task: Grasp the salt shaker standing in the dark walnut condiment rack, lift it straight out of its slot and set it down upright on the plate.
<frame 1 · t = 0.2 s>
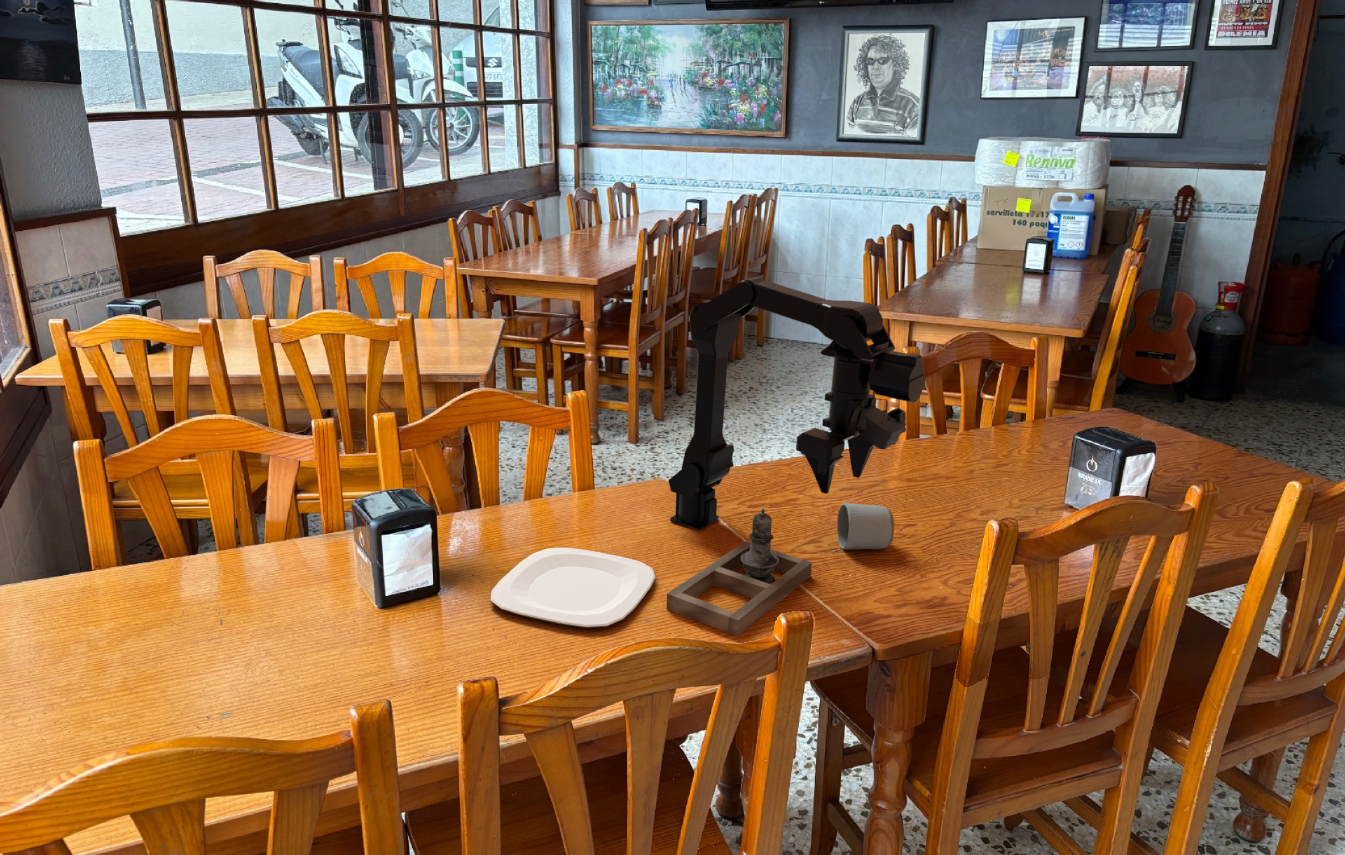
hand: (840, 484, 142), 14 cm above the table, tool pointing down, fingers open, 9 cm apart
condiment rack: (741, 592, 138), on the table
plate: (575, 593, 138), on the table
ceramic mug: (859, 544, 156), on the table
salt shaker: (758, 580, 142), resting in condiment rack
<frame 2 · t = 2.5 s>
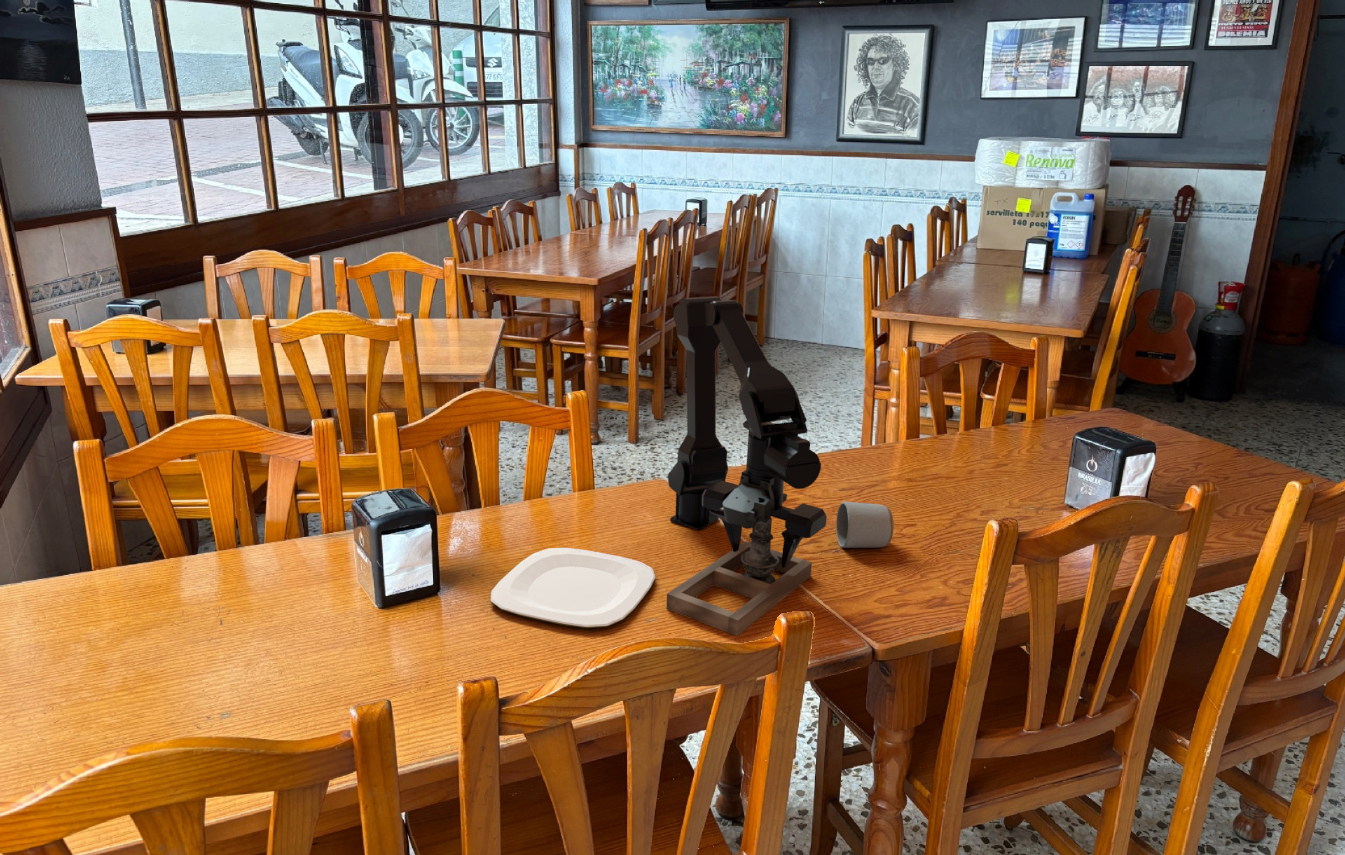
hand: (759, 558, 141), 4 cm above the table, tool pointing down, fingers closed on salt shaker, 8 cm apart
salt shaker: (758, 580, 142), resting in condiment rack, touching gripper
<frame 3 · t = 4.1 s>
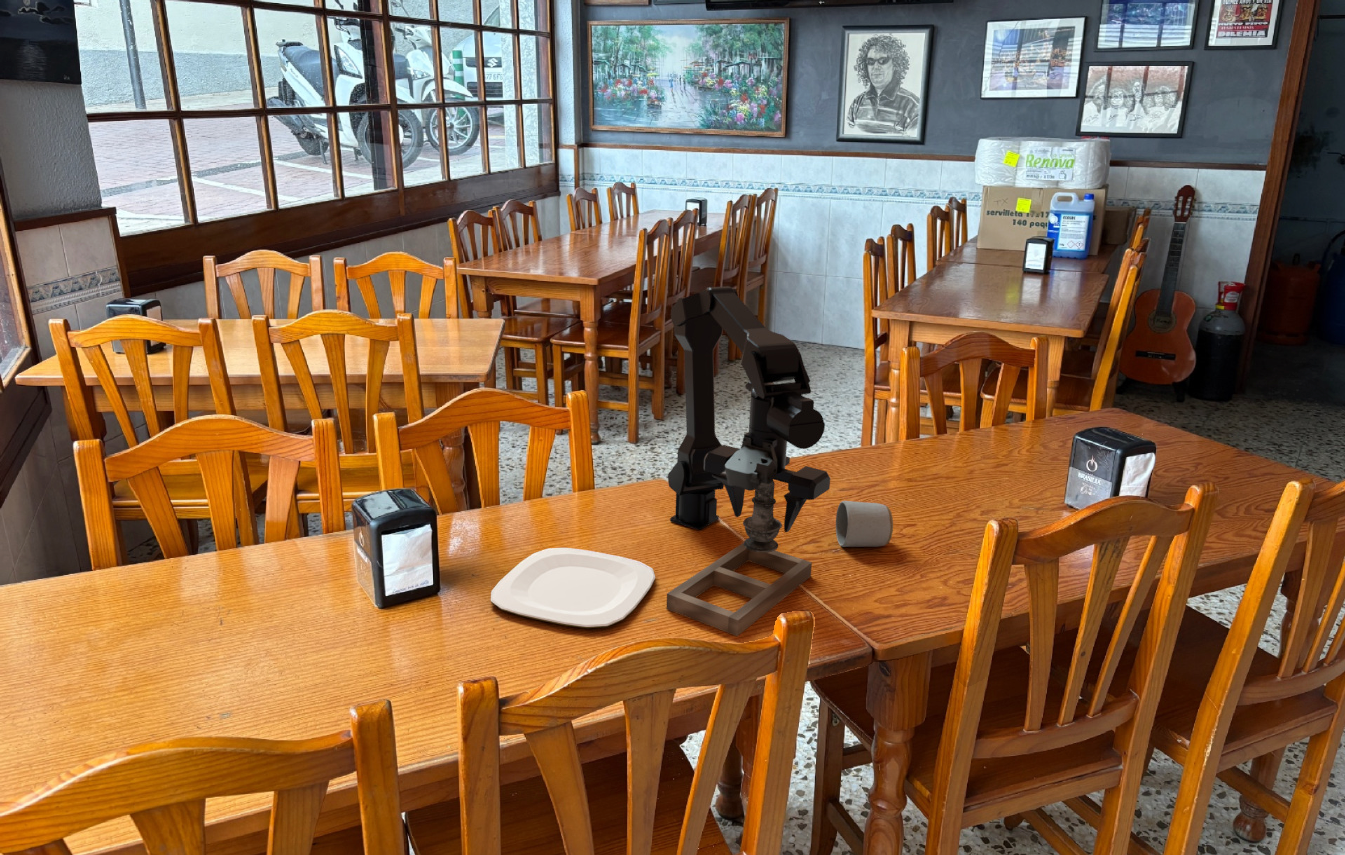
hand: (762, 523, 139), 9 cm above the table, tool pointing down, fingers closed on salt shaker, 8 cm apart
salt shaker: (760, 546, 140), point 6 cm above the table, touching gripper
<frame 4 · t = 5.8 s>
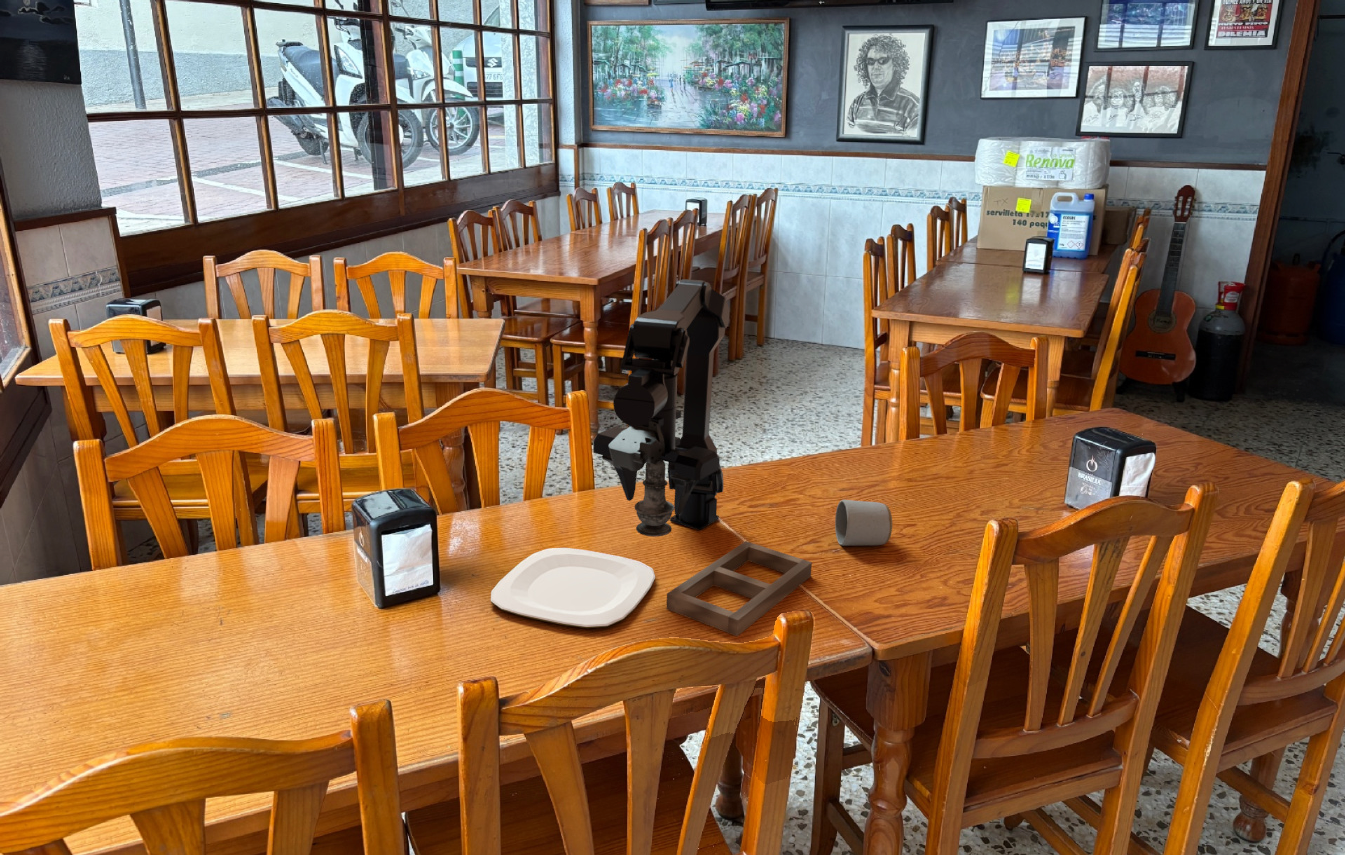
hand: (653, 506, 135), 13 cm above the table, tool pointing down, fingers closed on salt shaker, 8 cm apart
salt shaker: (653, 530, 136), point 9 cm above the table, touching gripper
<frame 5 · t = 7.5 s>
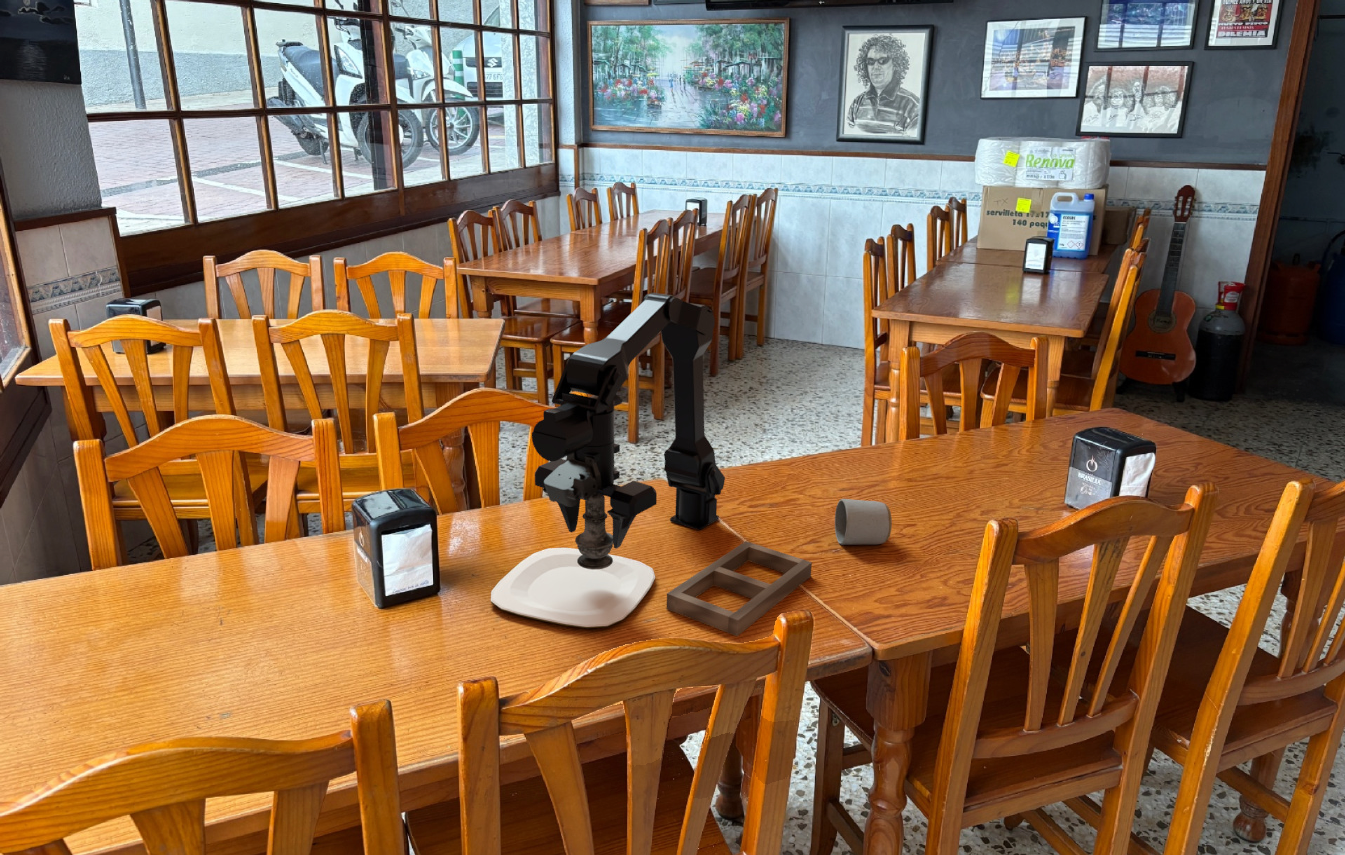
hand: (594, 539, 135), 8 cm above the table, tool pointing down, fingers closed on salt shaker, 8 cm apart
salt shaker: (595, 562, 137), point 4 cm above the table, touching gripper
when the fingers open (6 cm above the table, at t = 9.0 s): salt shaker drops 2 cm, point 1 cm above the table.
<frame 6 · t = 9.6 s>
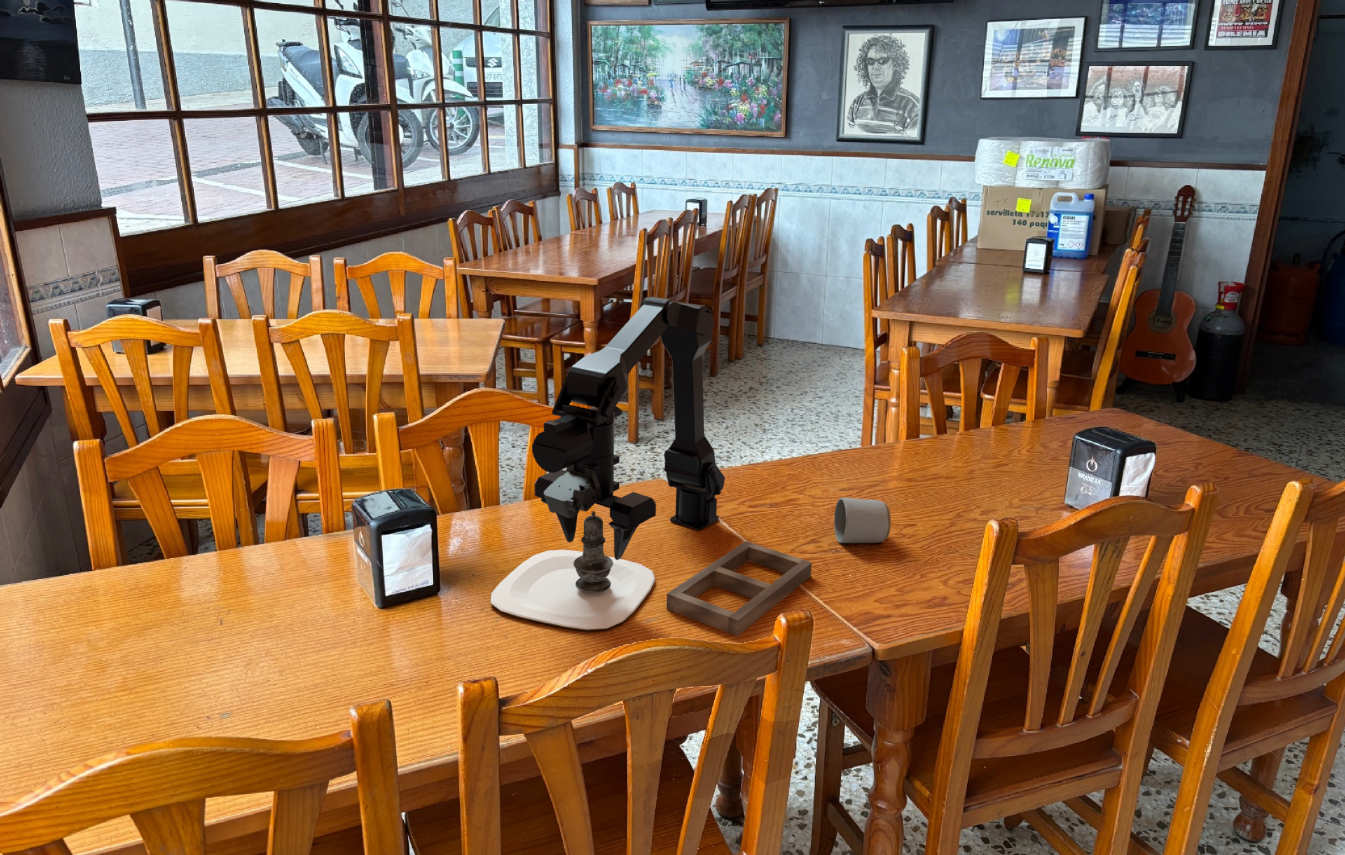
hand: (593, 550, 136), 6 cm above the table, tool pointing down, fingers open, 9 cm apart
salt shaker: (593, 585, 138), point 1 cm above the table
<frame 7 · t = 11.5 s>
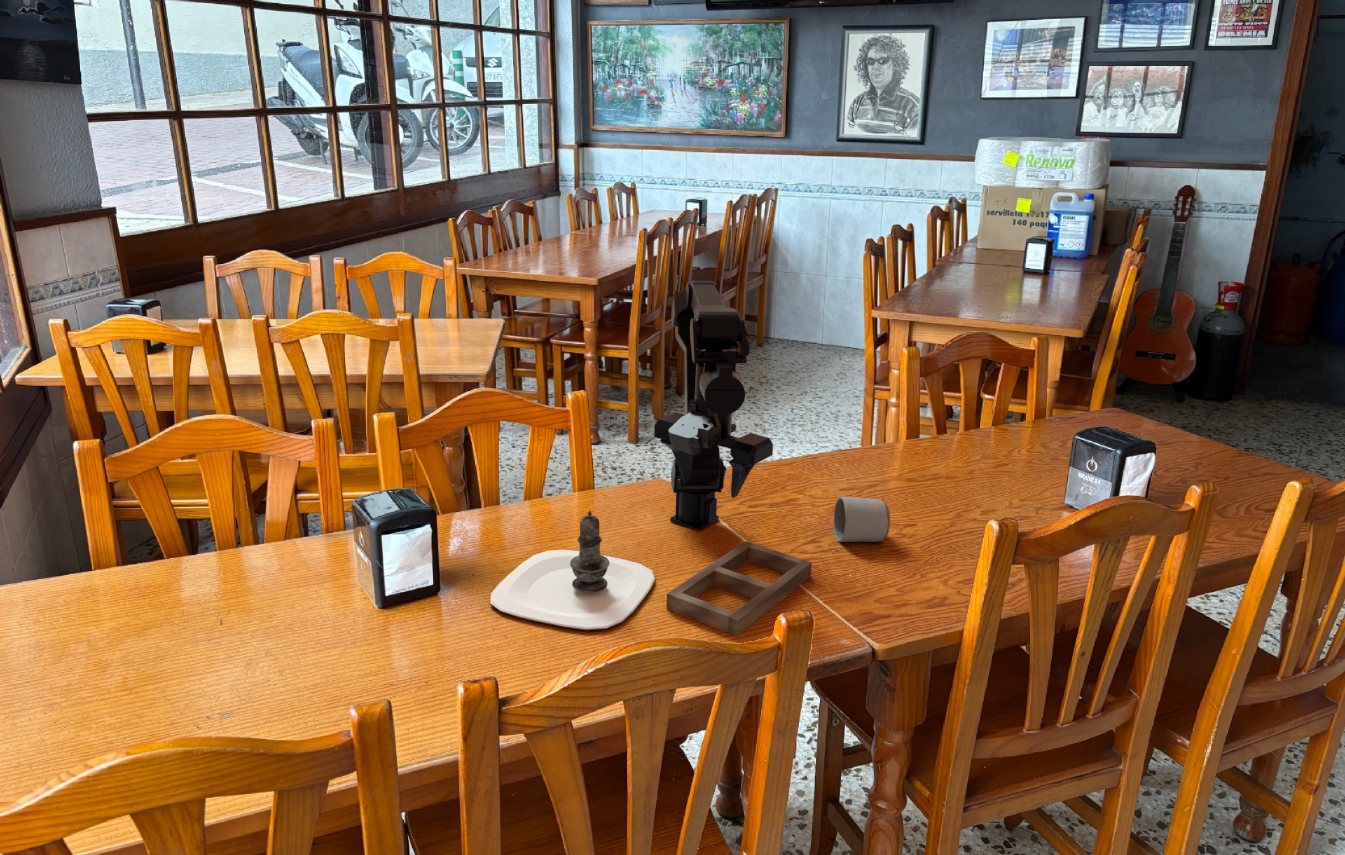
hand: (709, 489, 143), 13 cm above the table, tool pointing down, fingers open, 9 cm apart
plate: (574, 596, 138), on the table, touching salt shaker
salt shaker: (589, 585, 138), point 1 cm above the table, touching plate
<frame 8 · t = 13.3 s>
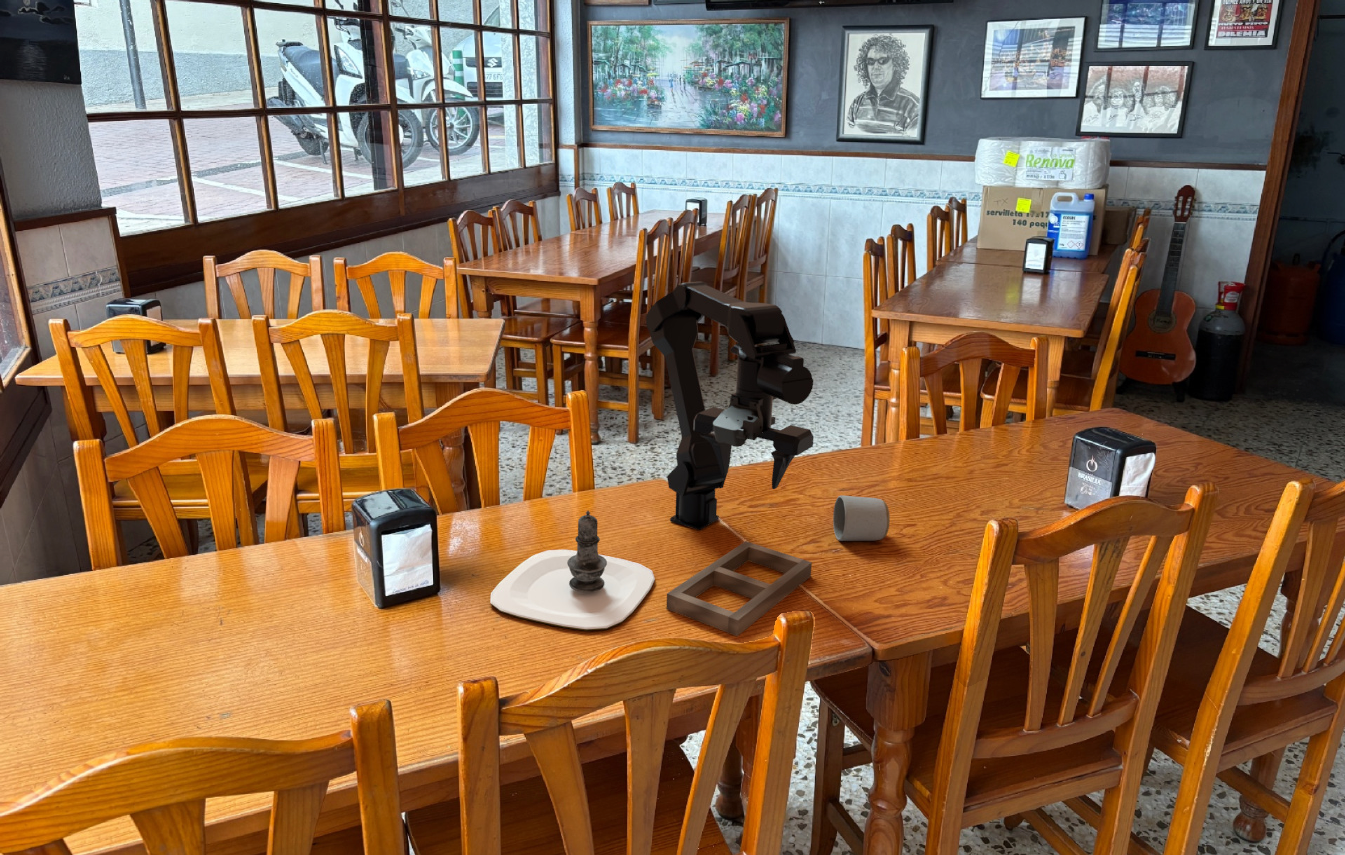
hand: (749, 481, 146), 13 cm above the table, tool pointing down, fingers open, 9 cm apart
at the end: salt shaker 1.8 cm from the plate (horizontally); salt shaker touching plate; salt shaker tilted 1° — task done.
